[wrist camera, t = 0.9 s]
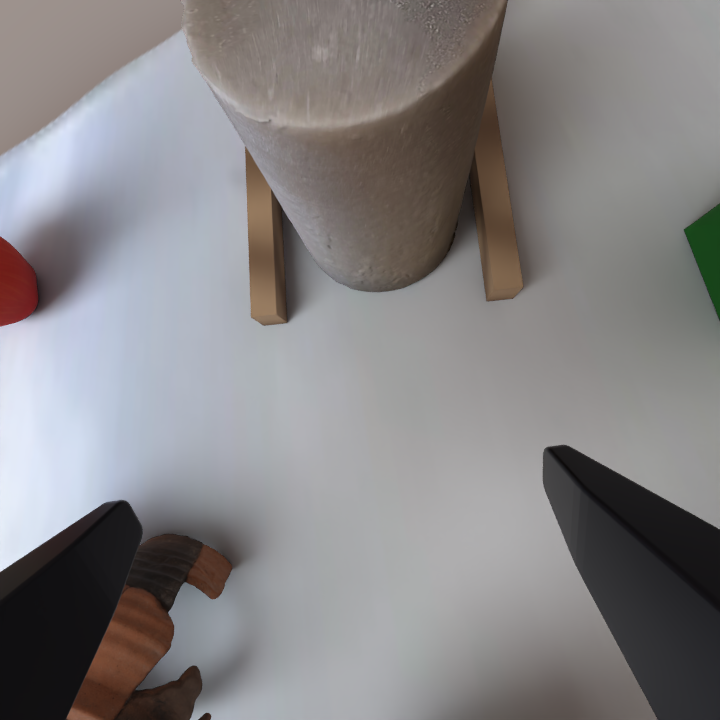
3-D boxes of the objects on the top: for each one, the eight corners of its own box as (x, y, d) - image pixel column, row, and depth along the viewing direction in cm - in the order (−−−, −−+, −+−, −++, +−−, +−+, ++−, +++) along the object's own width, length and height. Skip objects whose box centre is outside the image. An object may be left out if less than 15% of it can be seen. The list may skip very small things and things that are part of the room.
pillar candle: (480, 174, 24) (592, -223, 9) (422, 318, 23) (442, 130, 8) (338, 133, 26) (240, -255, 11) (278, 265, 25) (82, 33, 10)
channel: (513, 298, 22) (535, 272, 19) (263, 325, 24) (235, 307, 20) (472, 24, 25) (484, -48, 22) (253, 64, 27) (227, 3, 23)
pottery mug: (285, 580, 22) (208, 775, 15) (218, 651, 26) (130, 834, 18) (103, 464, 21) (-79, 608, 14) (62, 555, 25) (-98, 707, 18)
